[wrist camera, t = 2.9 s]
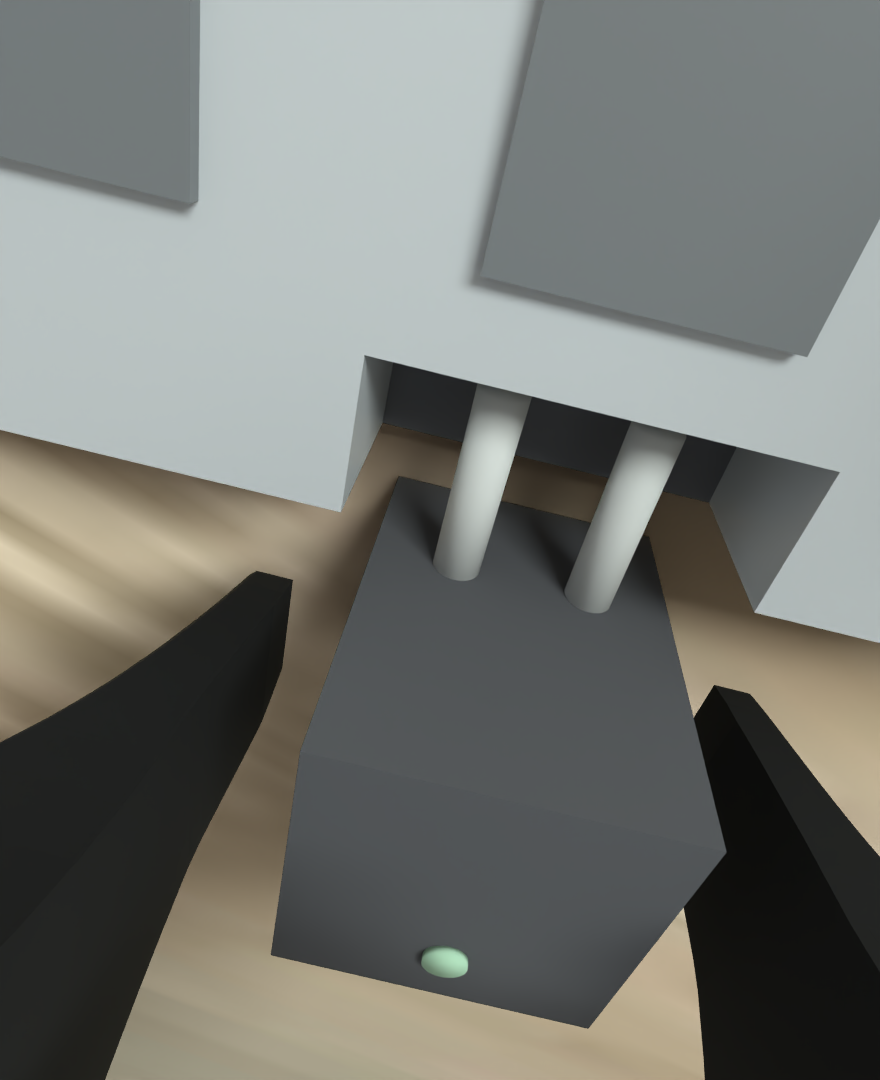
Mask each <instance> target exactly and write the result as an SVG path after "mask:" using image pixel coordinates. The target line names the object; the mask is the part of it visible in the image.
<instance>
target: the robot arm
mask: <svg viewBox="0 0 880 1080" xmlns="http://www.w3.org/2000/svg"><path fill="white" fill-rule="evenodd" d="M292 583H293V580H291V579H287V578H283V577H279V576H275V575H271V574H267V573H263V572H259V571H256V572H254V573H252V574H250V575H249V576H248V577H247V578H246V579H244V580H243V581H242V582H241V583H240V584H239V585H238V586H236V587H235V588H234V589H233V590H232V591H231V592H229V593H228V594H227V595H226V596H225V597H223V598H222V599H221V600H220V601H219V602H217V603H216V604H215V605H214V606H213V607H211V608H210V609H209V610H208V611H206V612H205V613H204V614H203V615H201V616H200V617H199V618H198V619H196V620H195V621H194V622H192V623H191V624H190V625H188V626H187V627H186V628H184V629H183V630H182V631H181V632H179V633H178V634H177V635H175V636H174V637H173V638H171V639H170V640H169V641H167V642H166V643H165V644H163V645H162V646H161V647H159V648H158V649H156V650H155V651H154V652H152V653H151V654H149V655H148V656H146V657H145V658H143V659H142V660H140V661H139V662H137V663H136V664H134V665H133V666H131V667H130V668H128V669H127V670H126V671H124V672H123V673H121V674H120V675H118V676H117V677H115V678H114V679H112V680H111V681H109V682H107V683H106V684H104V685H103V686H101V687H99V688H98V689H96V690H95V691H93V692H91V693H90V694H88V695H86V696H85V697H83V698H81V699H80V700H78V701H76V702H75V703H73V704H71V705H69V706H68V707H66V708H64V709H62V710H61V711H59V712H57V713H55V714H54V715H52V716H50V717H48V718H46V719H44V720H43V721H41V722H39V723H37V724H35V725H33V726H31V727H29V728H27V729H25V730H23V731H21V732H19V733H18V734H16V735H14V736H12V737H10V738H8V739H6V740H4V741H2V742H0V1080H105V1078H106V1076H107V1073H108V1070H109V1068H110V1065H111V1062H112V1060H113V1057H114V1054H115V1052H116V1049H117V1047H118V1044H119V1041H120V1039H121V1036H122V1033H123V1031H124V1028H125V1025H126V1023H127V1020H128V1018H129V1015H130V1012H131V1010H132V1007H133V1004H134V1002H135V999H136V996H137V994H138V991H139V989H140V986H141V984H142V981H143V979H144V976H145V973H146V971H147V968H148V966H149V963H150V961H151V958H152V956H153V953H154V951H155V948H156V945H157V943H158V940H159V938H160V935H161V933H162V930H163V928H164V925H165V923H166V920H167V918H168V915H169V913H170V910H171V908H172V906H173V903H174V901H175V898H176V896H177V893H178V891H179V888H180V886H181V883H182V881H183V878H184V876H185V873H186V871H187V869H188V866H189V864H190V862H191V860H192V858H193V856H194V853H195V851H196V849H197V847H198V845H199V843H200V841H201V839H202V837H203V835H204V833H205V831H206V829H207V827H208V825H209V823H210V821H211V819H212V817H213V815H214V814H215V812H216V810H217V808H218V806H219V804H220V802H221V800H222V798H223V796H224V794H225V792H226V790H227V788H228V787H229V785H230V783H231V781H232V779H233V777H234V775H235V773H236V771H237V769H238V767H239V765H240V763H241V761H242V759H243V758H244V756H245V754H246V752H247V750H248V748H249V746H250V744H251V742H252V740H253V738H254V736H255V734H256V732H257V730H258V728H259V726H260V724H261V722H262V720H263V717H264V715H265V712H266V709H267V707H268V704H269V702H270V699H271V697H272V694H273V691H274V688H275V686H276V683H277V680H278V678H279V675H280V672H281V669H282V665H283V657H284V648H285V640H286V632H287V624H288V616H289V607H290V599H291V591H292ZM694 722H695V726H696V730H697V734H698V738H699V742H700V746H701V750H702V754H703V758H704V762H705V766H706V771H707V775H708V779H709V783H710V787H711V791H712V795H713V799H714V803H715V807H716V811H717V815H718V819H719V823H720V827H721V831H722V836H723V840H724V844H725V848H726V854H725V855H724V856H723V858H722V859H721V860H720V861H719V863H718V864H717V865H716V867H715V868H714V869H713V870H712V872H711V873H710V874H709V875H708V877H707V878H706V879H705V881H704V882H703V883H702V884H701V886H700V887H699V888H698V889H697V891H696V892H695V893H694V895H693V896H692V897H691V898H690V900H689V901H688V902H687V903H686V905H685V906H684V911H685V917H686V922H687V928H688V933H689V938H690V944H691V949H692V954H693V960H694V967H695V974H696V981H697V988H698V998H699V1009H700V1021H701V1033H702V1044H703V1056H704V1072H705V1080H880V856H879V855H878V854H877V853H876V852H875V851H874V849H873V848H872V847H871V846H870V845H869V844H868V842H867V841H866V840H865V839H864V838H863V837H862V835H861V834H860V833H859V832H858V830H857V829H856V828H855V827H854V826H853V824H852V823H851V822H850V821H849V820H848V818H847V817H846V816H845V815H844V813H843V812H842V811H841V810H840V808H839V807H838V806H837V805H836V803H835V802H834V801H833V800H832V798H831V797H830V796H829V795H828V793H827V792H826V791H825V789H824V788H823V787H822V786H821V784H820V783H819V782H818V780H817V779H816V778H815V777H814V775H813V774H812V773H811V771H810V770H809V769H808V768H807V766H806V765H805V764H804V762H803V761H802V760H801V758H800V757H799V756H798V754H797V753H796V752H795V751H794V749H793V748H792V747H791V745H790V744H789V743H788V741H787V740H786V739H785V737H784V736H783V735H782V734H781V732H780V731H779V730H778V728H777V727H776V726H775V724H774V723H773V722H772V721H771V719H770V718H769V717H768V715H767V714H766V713H765V712H764V710H763V709H762V708H761V707H760V705H759V704H758V703H757V702H756V701H755V699H754V698H753V697H752V696H751V695H750V694H748V693H744V692H740V691H736V690H732V689H728V688H724V687H720V686H716V685H714V686H713V688H712V690H711V691H710V693H709V694H708V696H707V698H706V699H705V701H704V702H703V704H702V706H701V707H700V709H699V710H698V712H697V713H696V715H695V717H694Z"/></svg>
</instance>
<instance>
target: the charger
mask: <svg viewBox="0 0 880 1080" xmlns="http://www.w3.org/2000/svg"><path fill="white" fill-rule="evenodd" d="M531 399H532V396H529V395H525V394H520V393H516V392H512V391H508V390H504V389H500V388H496V387H492V386H488V385H484V384H480V383H478V384H477V388H476V392H475V396H474V400H473V404H472V408H471V412H470V416H469V420H468V424H467V428H466V432H465V436H464V440H463V444H462V448H461V452H460V456H459V460H458V464H457V468H456V472H455V476H454V480H453V484H452V488H451V489H449V488H445V487H441V486H437V485H433V484H429V483H424V482H420V481H416V480H412V479H408V478H404V477H400V476H399V478H398V480H397V483H396V486H395V489H394V491H393V494H392V497H391V500H390V503H389V505H388V508H387V511H386V514H385V517H384V519H383V522H382V525H381V528H380V530H379V533H378V536H377V539H376V542H375V544H374V547H373V550H372V553H371V556H370V558H369V561H368V564H367V567H366V569H365V572H364V575H363V578H362V581H361V583H360V586H359V589H358V592H357V595H356V597H355V600H354V603H353V606H352V608H351V611H350V614H349V617H348V620H347V622H346V625H345V628H344V631H343V634H342V636H341V639H340V642H339V645H338V647H337V650H336V653H335V656H334V659H333V661H332V664H331V667H330V670H329V673H328V675H327V678H326V681H325V684H324V686H323V689H322V692H321V695H320V698H319V700H318V703H317V706H316V709H315V712H314V714H313V717H312V720H311V723H310V725H309V728H308V731H307V734H306V737H305V739H304V742H303V745H302V748H301V751H300V756H299V763H298V770H297V777H296V784H295V791H294V798H293V805H292V812H291V819H290V826H289V832H288V839H287V846H286V853H285V860H284V867H283V874H282V881H281V888H280V895H279V902H278V909H277V916H276V923H275V930H274V936H273V943H272V950H271V955H273V956H277V957H281V958H285V959H290V960H294V961H298V962H303V963H307V964H311V965H316V966H320V967H324V968H329V969H333V970H337V971H342V972H346V973H350V974H355V975H359V976H363V977H368V978H372V979H376V980H380V981H385V982H389V983H393V984H398V985H402V986H406V987H411V988H415V989H419V990H424V991H428V992H432V993H437V994H441V995H445V996H450V997H454V998H458V999H462V1000H467V1001H471V1002H475V1003H480V1004H484V1005H488V1006H493V1007H497V1008H501V1009H506V1010H510V1011H514V1012H519V1013H523V1014H527V1015H532V1016H536V1017H540V1018H544V1019H549V1020H553V1021H557V1022H562V1023H566V1024H570V1025H575V1026H579V1027H583V1028H589V1027H590V1026H591V1025H592V1023H593V1022H594V1021H595V1019H596V1018H597V1017H598V1016H599V1014H600V1013H601V1012H602V1011H603V1009H604V1008H605V1007H606V1005H607V1004H608V1003H609V1002H610V1000H611V999H612V998H613V996H614V995H615V994H616V993H617V991H618V990H619V989H620V988H621V986H622V985H623V984H624V982H625V981H626V980H627V979H628V977H629V976H630V975H631V974H632V972H633V971H634V970H635V968H636V967H637V966H638V965H639V963H640V962H641V961H642V960H643V958H644V957H645V956H646V954H647V953H648V952H649V951H650V949H651V948H652V947H653V946H654V944H655V943H656V942H657V940H658V939H659V938H660V937H661V935H662V934H663V933H664V931H665V930H666V929H667V928H668V926H669V925H670V924H671V923H672V921H673V920H674V919H675V917H676V916H677V915H678V914H679V912H680V911H681V910H682V909H683V907H684V906H685V905H686V903H687V902H688V901H689V900H690V898H691V897H692V896H693V895H694V893H695V892H696V891H697V889H698V888H699V887H700V886H701V884H702V883H703V882H704V881H705V879H706V878H707V877H708V875H709V874H710V873H711V872H712V870H713V869H714V868H715V867H716V865H717V864H718V863H719V861H720V860H721V859H722V858H723V856H724V855H725V854H726V848H725V844H724V840H723V836H722V831H721V827H720V823H719V819H718V815H717V811H716V807H715V803H714V799H713V795H712V791H711V787H710V783H709V779H708V775H707V771H706V766H705V762H704V758H703V754H702V750H701V746H700V742H699V738H698V734H697V730H696V726H695V722H694V718H693V714H692V710H691V706H690V702H689V697H688V693H687V689H686V685H685V681H684V677H683V673H682V669H681V665H680V661H679V657H678V653H677V649H676V645H675V641H674V637H673V632H672V628H671V624H670V620H669V616H668V612H667V608H666V604H665V600H664V596H663V592H662V588H661V584H660V580H659V576H658V572H657V567H656V563H655V559H654V555H653V551H652V547H651V543H650V539H649V537H646V536H642V535H643V532H644V530H645V528H646V526H647V524H648V521H649V519H650V517H651V515H652V513H653V510H654V508H655V506H656V504H657V502H658V499H659V497H660V495H661V493H662V491H663V488H664V486H665V484H666V482H667V480H668V477H669V475H670V473H671V471H672V468H673V466H674V464H675V462H676V460H677V457H678V455H679V453H680V451H681V449H682V446H683V444H684V442H685V440H686V434H683V433H679V432H675V431H671V430H667V429H663V428H659V427H655V426H650V425H646V424H642V423H638V422H634V421H631V424H630V426H629V429H628V431H627V434H626V436H625V439H624V441H623V444H622V446H621V449H620V451H619V454H618V456H617V459H616V461H615V464H614V466H613V469H612V471H611V474H610V476H609V479H608V482H607V484H606V487H605V489H604V492H603V494H602V497H601V499H600V502H599V504H598V507H597V509H596V512H595V514H594V517H593V519H592V522H591V523H589V522H585V521H581V520H576V519H572V518H568V517H564V516H560V515H556V514H552V513H548V512H544V511H539V510H535V509H531V508H527V507H523V506H519V505H515V504H511V503H507V502H502V501H501V498H502V495H503V491H504V488H505V485H506V482H507V478H508V475H509V472H510V468H511V465H512V462H513V458H514V455H515V452H516V448H517V445H518V442H519V439H520V435H521V432H522V429H523V425H524V422H525V419H526V415H527V412H528V409H529V405H530V402H531Z"/></svg>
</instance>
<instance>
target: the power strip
mask: <svg viewBox="0 0 880 1080" xmlns="http://www.w3.org/2000/svg"><path fill="white" fill-rule="evenodd" d="M478 383H480V384H484V385H488V386H492V387H496V388H500V389H504V390H508V391H512V392H516V393H520V394H525V395H529V396H532V399H531V402H530V405H529V409H528V412H527V415H526V419H525V422H524V425H523V429H522V432H521V435H520V439H519V442H518V445H517V448H516V452H515V455H516V456H520V457H524V458H529V459H533V460H537V461H541V462H545V463H549V464H553V465H557V466H561V467H565V468H569V469H574V470H578V471H582V472H586V473H590V474H594V475H598V476H602V477H606V478H609V476H610V474H611V471H612V469H613V466H614V464H615V461H616V459H617V456H618V454H619V451H620V449H621V446H622V444H623V441H624V439H625V436H626V434H627V431H628V429H629V426H630V424H631V421H634V422H638V423H642V424H646V425H650V426H655V427H659V428H663V429H667V430H671V431H675V432H679V433H683V434H686V440H685V442H684V444H683V446H682V449H681V451H680V453H679V455H678V457H677V460H676V462H675V464H674V466H673V468H672V471H671V473H670V475H669V477H668V480H667V482H666V484H665V486H664V488H663V492H668V493H672V494H676V495H680V496H684V497H688V498H692V499H696V500H700V501H704V502H708V503H709V504H710V506H711V509H712V511H713V514H714V516H715V519H716V521H717V523H718V526H719V528H720V531H721V533H722V536H723V538H724V540H725V543H726V545H727V548H728V550H729V553H730V555H731V557H732V560H733V562H734V565H735V567H736V570H737V572H738V574H739V577H740V579H741V582H742V584H743V587H744V589H745V591H746V594H747V596H748V599H749V601H750V604H751V606H752V609H753V611H754V613H758V614H762V615H766V616H771V617H775V618H779V619H783V620H787V621H791V622H795V623H799V624H804V625H808V626H812V627H816V628H820V629H824V630H828V631H832V632H837V633H841V634H845V635H849V636H853V637H857V638H861V639H865V640H870V641H874V642H878V643H880V0H0V430H3V431H7V432H11V433H15V434H20V435H24V436H28V437H32V438H36V439H40V440H44V441H48V442H53V443H57V444H61V445H65V446H69V447H73V448H77V449H81V450H86V451H90V452H94V453H98V454H102V455H106V456H110V457H114V458H119V459H123V460H127V461H131V462H135V463H139V464H143V465H147V466H152V467H156V468H160V469H164V470H168V471H172V472H176V473H181V474H185V475H189V476H193V477H197V478H201V479H205V480H209V481H214V482H218V483H222V484H226V485H230V486H234V487H238V488H242V489H247V490H251V491H255V492H259V493H263V494H267V495H271V496H275V497H280V498H284V499H288V500H292V501H296V502H300V503H304V504H308V505H313V506H317V507H321V508H325V509H329V510H333V511H337V512H341V511H342V509H343V507H344V505H345V502H346V500H347V498H348V496H349V494H350V492H351V490H352V487H353V485H354V483H355V481H356V479H357V477H358V474H359V472H360V470H361V468H362V466H363V464H364V462H365V459H366V457H367V455H368V453H369V451H370V449H371V447H372V444H373V442H374V440H375V438H376V436H377V434H378V431H379V429H380V427H381V425H382V423H386V424H390V425H394V426H398V427H402V428H406V429H410V430H414V431H418V432H422V433H426V434H430V435H435V436H439V437H443V438H447V439H451V440H455V441H459V442H463V440H464V436H465V432H466V428H467V424H468V420H469V416H470V412H471V408H472V404H473V400H474V396H475V392H476V388H477V384H478Z"/></svg>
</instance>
